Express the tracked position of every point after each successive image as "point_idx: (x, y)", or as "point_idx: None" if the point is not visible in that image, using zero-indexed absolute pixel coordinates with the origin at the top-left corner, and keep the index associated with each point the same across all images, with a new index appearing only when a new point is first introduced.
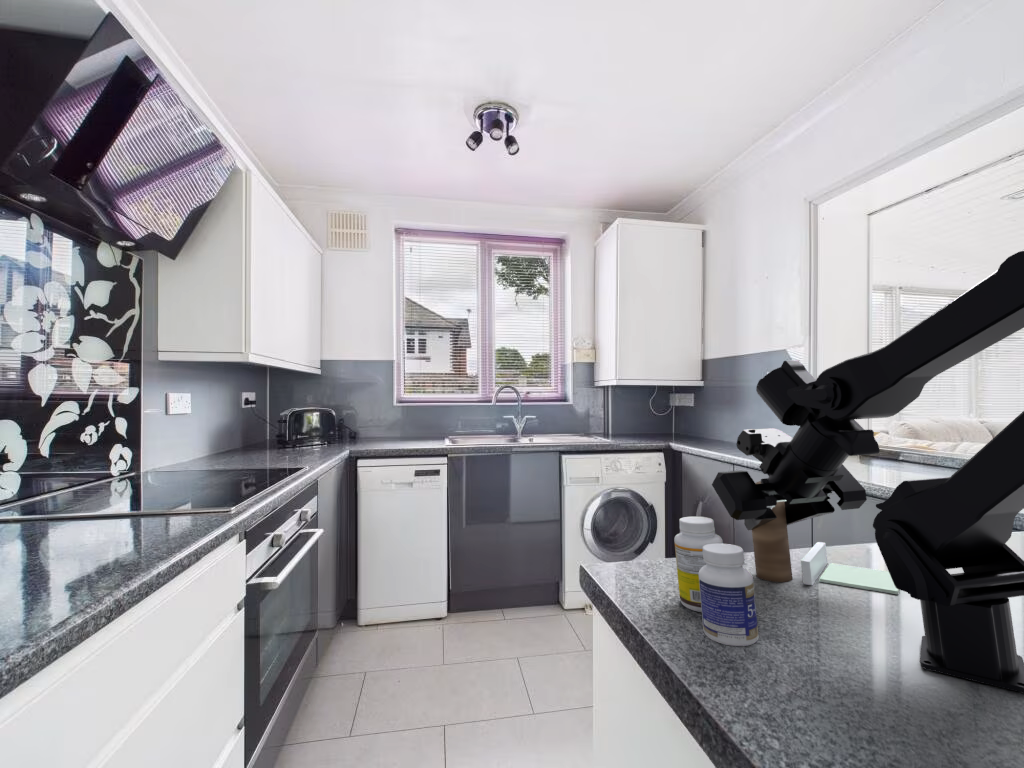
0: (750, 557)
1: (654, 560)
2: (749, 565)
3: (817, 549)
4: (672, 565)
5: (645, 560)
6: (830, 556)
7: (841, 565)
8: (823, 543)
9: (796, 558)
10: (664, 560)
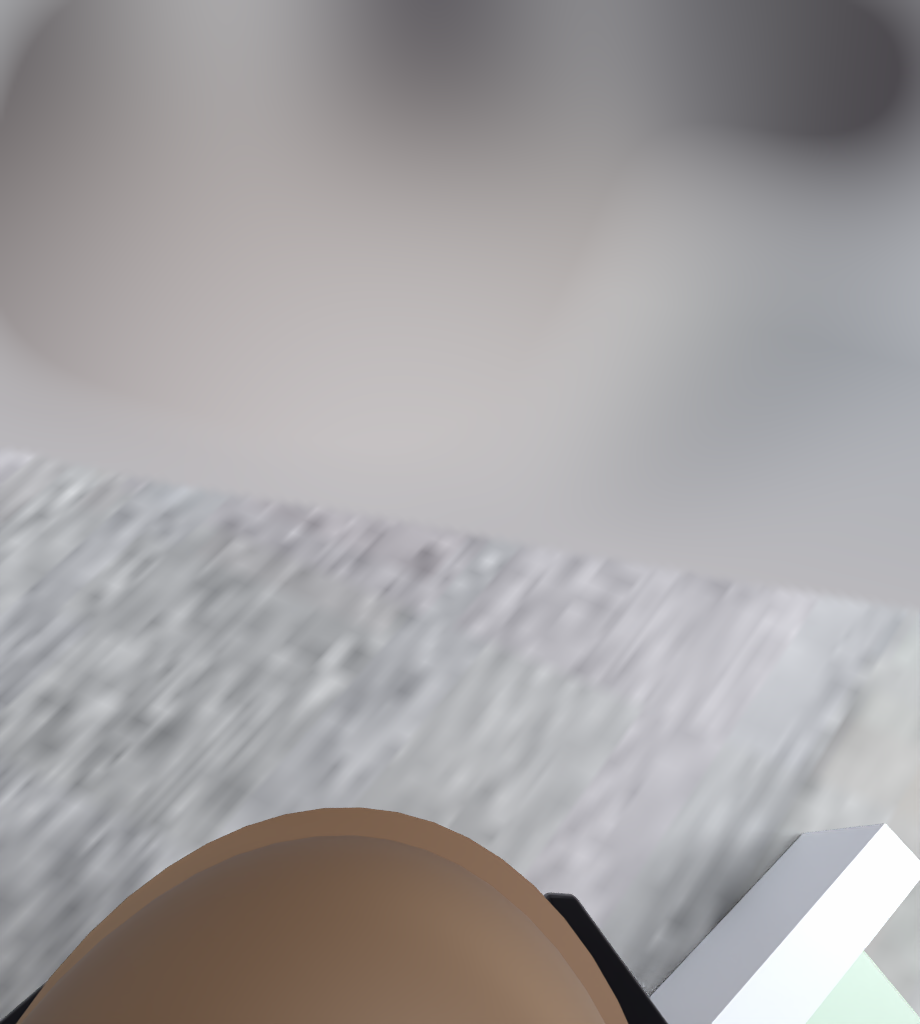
0: (509, 608)
1: (55, 472)
2: (409, 719)
3: (784, 1018)
4: (59, 565)
5: (19, 457)
6: (916, 757)
7: (881, 998)
8: (905, 883)
9: (722, 714)
10: (96, 489)
